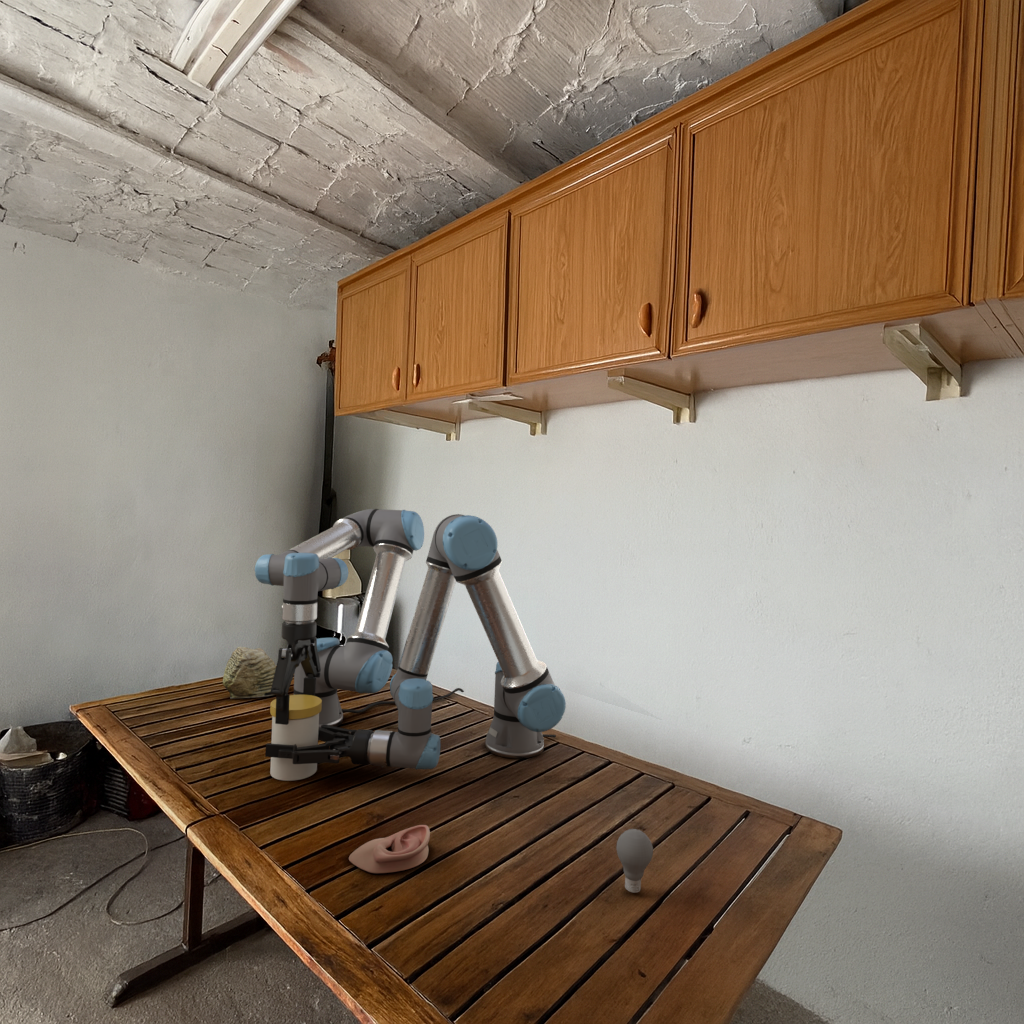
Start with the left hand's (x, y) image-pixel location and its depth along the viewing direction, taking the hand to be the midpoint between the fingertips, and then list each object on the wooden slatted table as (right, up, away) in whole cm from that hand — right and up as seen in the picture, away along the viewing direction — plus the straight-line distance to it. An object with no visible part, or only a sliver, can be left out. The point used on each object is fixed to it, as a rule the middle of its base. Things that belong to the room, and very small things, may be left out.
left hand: (295, 714), depth 145 cm
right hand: (-4, -6, 0) cm, 8 cm away
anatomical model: (+28, -15, -33) cm, 45 cm away
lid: (0, +2, 0) cm, 2 cm away
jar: (-1, -13, 0) cm, 13 cm away
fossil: (-31, -11, +53) cm, 62 cm away
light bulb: (+70, -17, -40) cm, 82 cm away
